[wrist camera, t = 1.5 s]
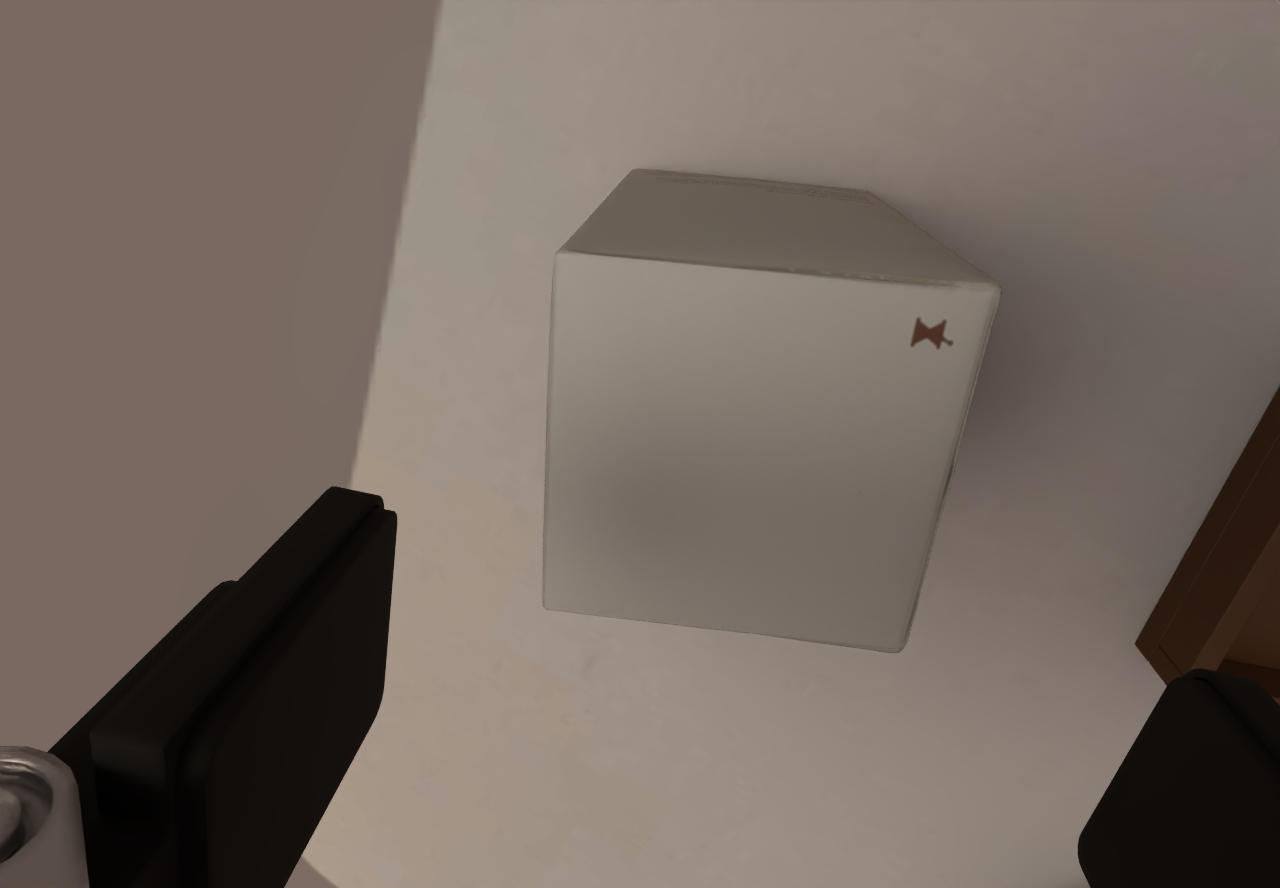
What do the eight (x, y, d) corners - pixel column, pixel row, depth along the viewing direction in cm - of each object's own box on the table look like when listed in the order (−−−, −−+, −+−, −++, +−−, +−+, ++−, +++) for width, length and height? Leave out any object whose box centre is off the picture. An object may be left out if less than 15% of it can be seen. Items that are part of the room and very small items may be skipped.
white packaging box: (627, 162, 24) (547, 230, 13) (875, 188, 24) (1026, 282, 12) (608, 392, 27) (530, 616, 16) (828, 417, 27) (914, 665, 15)
